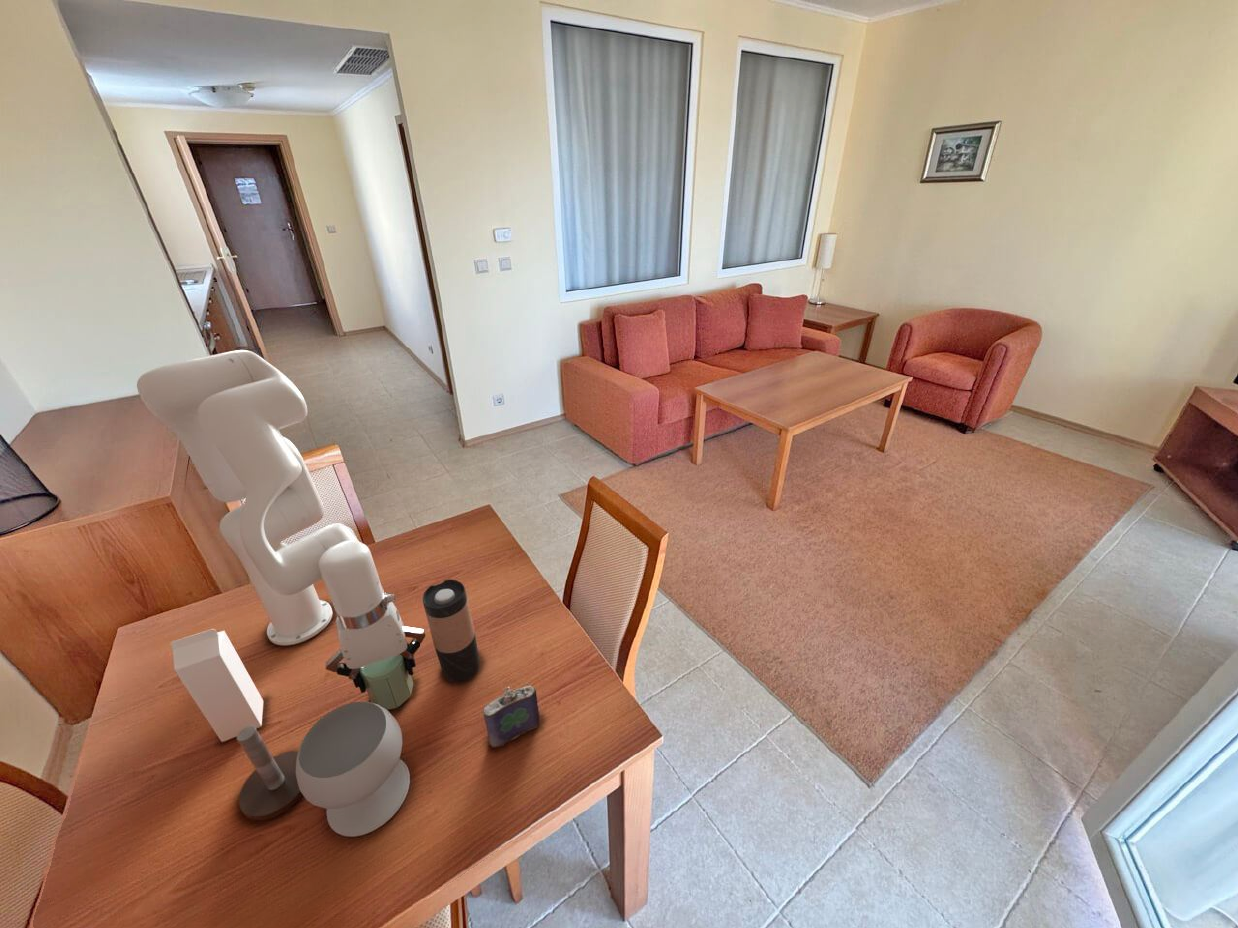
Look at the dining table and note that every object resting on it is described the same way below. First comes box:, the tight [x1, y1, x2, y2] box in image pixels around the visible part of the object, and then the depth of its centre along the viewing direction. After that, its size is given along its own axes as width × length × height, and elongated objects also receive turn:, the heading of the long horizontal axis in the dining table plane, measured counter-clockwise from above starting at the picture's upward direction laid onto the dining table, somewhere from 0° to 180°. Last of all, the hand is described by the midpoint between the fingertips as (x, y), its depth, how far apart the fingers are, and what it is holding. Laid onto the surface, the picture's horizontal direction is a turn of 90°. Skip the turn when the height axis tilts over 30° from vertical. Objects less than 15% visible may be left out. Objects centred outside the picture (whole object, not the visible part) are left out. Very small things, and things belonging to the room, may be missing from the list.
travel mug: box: [422, 579, 480, 683], centre depth 95 cm, size 8×8×20 cm
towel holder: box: [236, 726, 304, 821], centre depth 77 cm, size 10×10×14 cm
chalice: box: [296, 701, 411, 838], centre depth 75 cm, size 14×14×15 cm
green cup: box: [360, 654, 414, 711], centre depth 93 cm, size 7×7×9 cm
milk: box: [169, 628, 264, 743], centre depth 85 cm, size 6×6×22 cm
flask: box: [482, 685, 541, 748], centre depth 85 cm, size 9×3×11 cm, turn 121°
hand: (387, 677), depth 93 cm, fingers closed on green cup, 7 cm apart
